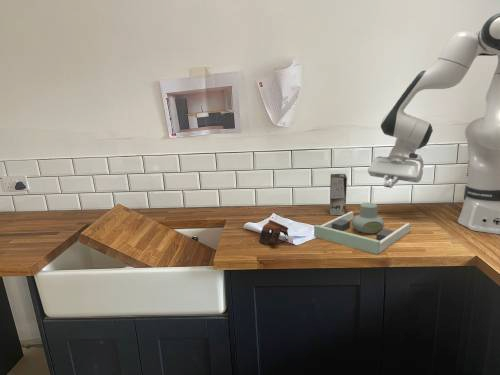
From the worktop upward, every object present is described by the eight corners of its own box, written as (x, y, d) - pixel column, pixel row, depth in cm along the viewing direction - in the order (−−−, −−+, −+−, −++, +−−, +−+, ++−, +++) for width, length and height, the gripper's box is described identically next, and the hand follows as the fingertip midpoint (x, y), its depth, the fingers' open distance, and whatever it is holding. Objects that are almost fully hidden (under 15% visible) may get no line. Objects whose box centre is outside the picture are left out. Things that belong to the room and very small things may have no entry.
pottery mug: (255, 238, 122) (264, 217, 123) (279, 249, 123) (288, 227, 124) (260, 243, 110) (270, 219, 111) (286, 254, 111) (296, 231, 112)
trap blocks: (395, 238, 117) (395, 231, 116) (387, 243, 113) (388, 236, 112) (340, 225, 131) (340, 219, 131) (331, 229, 127) (332, 223, 127)
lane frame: (409, 231, 123) (410, 220, 122) (377, 254, 105) (377, 242, 104) (350, 218, 139) (351, 208, 138) (314, 236, 121) (314, 225, 120)
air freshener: (357, 236, 121) (358, 208, 118) (348, 228, 129) (349, 202, 126) (387, 234, 121) (389, 207, 119) (377, 226, 129) (378, 200, 127)
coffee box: (345, 215, 143) (347, 177, 139) (329, 215, 144) (330, 177, 140) (344, 209, 151) (345, 173, 148) (329, 208, 153) (330, 173, 149)
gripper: (373, 151, 143) (360, 178, 138) (425, 156, 129) (412, 186, 124) (377, 160, 147) (364, 186, 143) (428, 166, 133) (416, 195, 128)
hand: (387, 186), depth 133 cm, fingers closed
